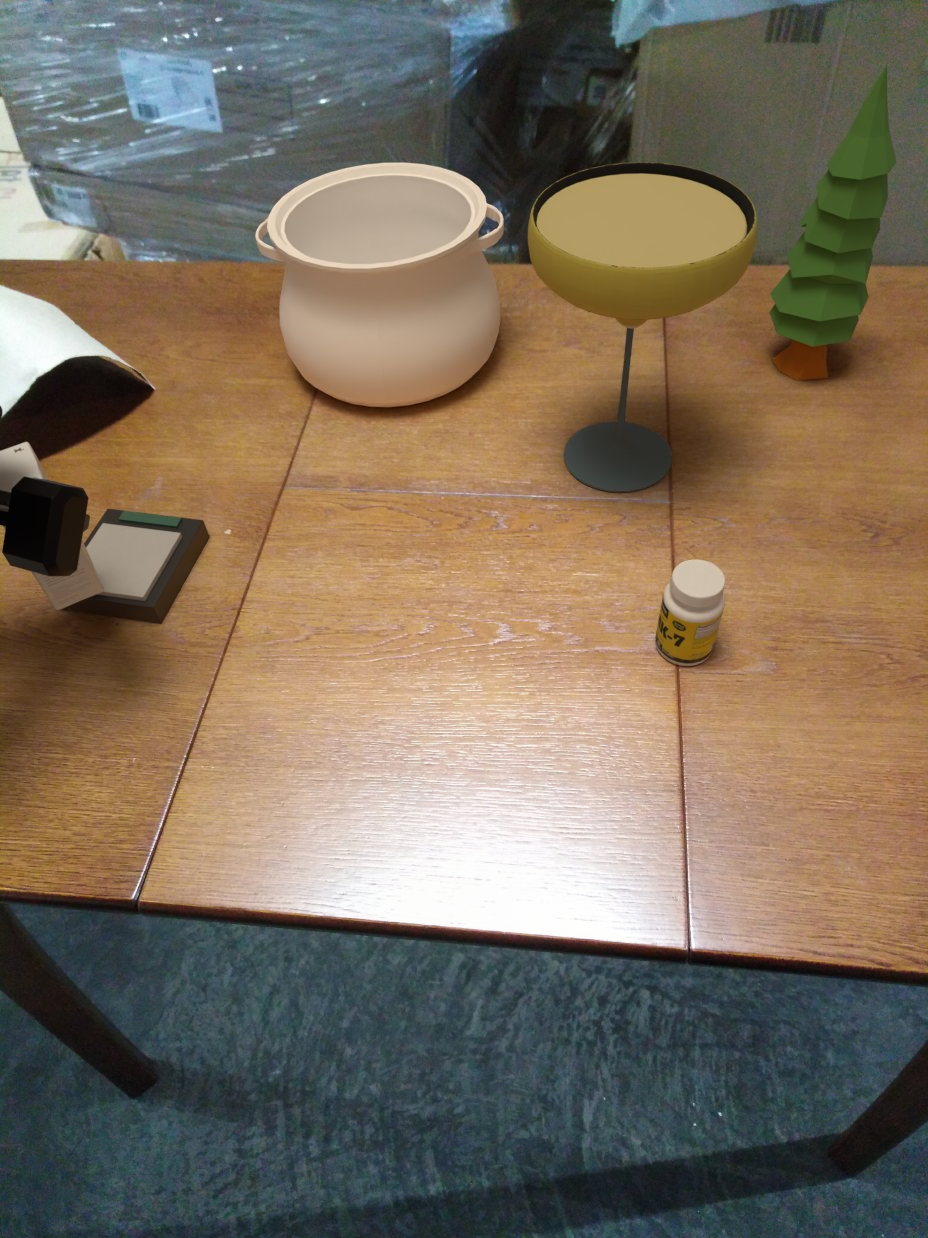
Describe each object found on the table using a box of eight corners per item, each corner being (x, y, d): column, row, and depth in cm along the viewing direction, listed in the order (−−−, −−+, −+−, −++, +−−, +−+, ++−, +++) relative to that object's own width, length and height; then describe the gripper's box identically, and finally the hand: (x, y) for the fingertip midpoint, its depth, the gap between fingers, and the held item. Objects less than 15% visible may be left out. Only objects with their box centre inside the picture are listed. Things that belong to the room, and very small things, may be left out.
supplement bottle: (643, 635, 75) (654, 567, 69) (691, 615, 76) (706, 546, 70) (675, 676, 72) (690, 609, 66) (724, 655, 73) (743, 587, 67)
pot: (504, 293, 111) (501, 151, 98) (508, 416, 95) (505, 267, 82) (300, 302, 112) (270, 163, 99) (270, 425, 96) (230, 280, 83)
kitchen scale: (60, 608, 81) (47, 588, 79) (115, 524, 88) (105, 503, 85) (161, 623, 79) (151, 602, 77) (209, 536, 86) (201, 515, 84)
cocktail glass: (696, 399, 95) (739, 155, 76) (722, 517, 84) (780, 265, 64) (526, 403, 96) (526, 164, 77) (528, 520, 85) (529, 274, 66)
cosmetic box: (37, 568, 76) (-29, 458, 67) (87, 548, 77) (28, 438, 68) (55, 614, 73) (-13, 504, 64) (106, 592, 74) (47, 482, 65)
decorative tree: (776, 393, 95) (856, 84, 72) (741, 344, 101) (805, 44, 78) (862, 378, 96) (969, 67, 73) (822, 331, 102) (909, 29, 79)
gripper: (7, 394, 52) (167, 432, 67) (-226, 345, 57) (-29, 390, 72) (-20, 580, 54) (142, 576, 69) (-246, 516, 59) (-48, 525, 74)
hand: (49, 512), depth 71 cm, fingers closed on cosmetic box, 7 cm apart
